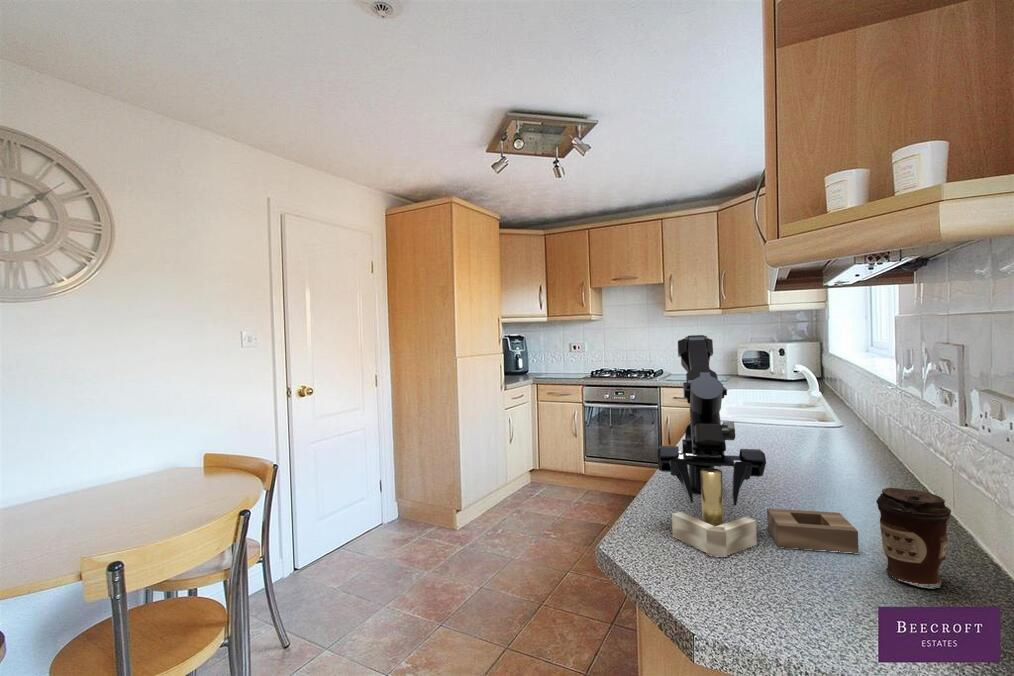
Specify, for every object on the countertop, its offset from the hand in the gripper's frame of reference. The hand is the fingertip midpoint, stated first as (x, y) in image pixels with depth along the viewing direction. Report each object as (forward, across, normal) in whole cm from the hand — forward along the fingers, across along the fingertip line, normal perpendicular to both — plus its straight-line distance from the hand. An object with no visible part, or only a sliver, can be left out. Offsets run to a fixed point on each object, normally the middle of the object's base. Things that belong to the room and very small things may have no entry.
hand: (713, 503), depth 85 cm
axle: (+4, 0, +6) cm, 8 cm away
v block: (+6, 0, +5) cm, 8 cm away
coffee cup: (+9, +27, +2) cm, 29 cm away
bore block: (+2, +16, +9) cm, 19 cm away
